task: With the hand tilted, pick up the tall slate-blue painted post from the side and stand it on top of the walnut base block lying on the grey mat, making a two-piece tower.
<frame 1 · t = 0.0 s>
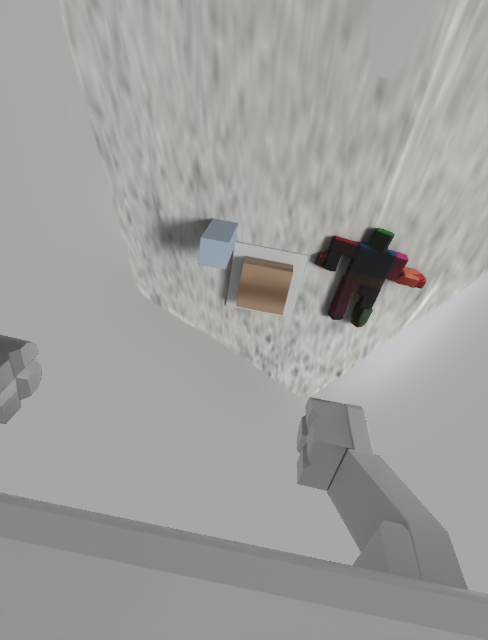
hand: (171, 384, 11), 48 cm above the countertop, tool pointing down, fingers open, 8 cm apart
base block: (264, 282, 61), resting on mat
toy: (358, 275, 60), on the countertop
post: (224, 233, 58), on the countertop
mat: (264, 281, 61), on the countertop
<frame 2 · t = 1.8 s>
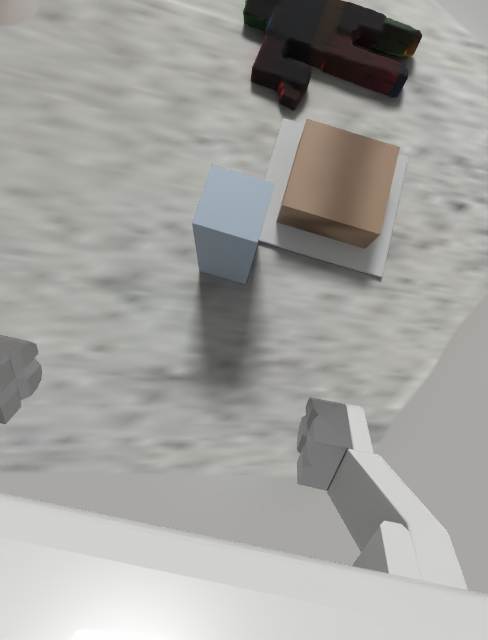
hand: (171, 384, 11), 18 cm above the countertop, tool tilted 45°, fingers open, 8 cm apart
base block: (331, 194, 32), resting on mat
toy: (323, 54, 35), on the countertop
post: (229, 256, 30), on the countertop
mat: (330, 196, 32), on the countertop
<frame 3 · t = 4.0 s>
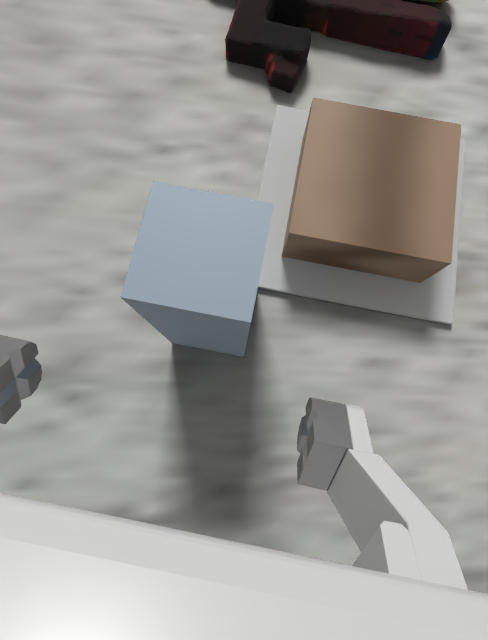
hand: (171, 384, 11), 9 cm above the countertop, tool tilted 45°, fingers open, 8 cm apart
base block: (359, 207, 21), resting on mat
toy: (324, 15, 26), on the countertop
post: (215, 315, 20), on the countertop
mat: (357, 209, 22), on the countertop
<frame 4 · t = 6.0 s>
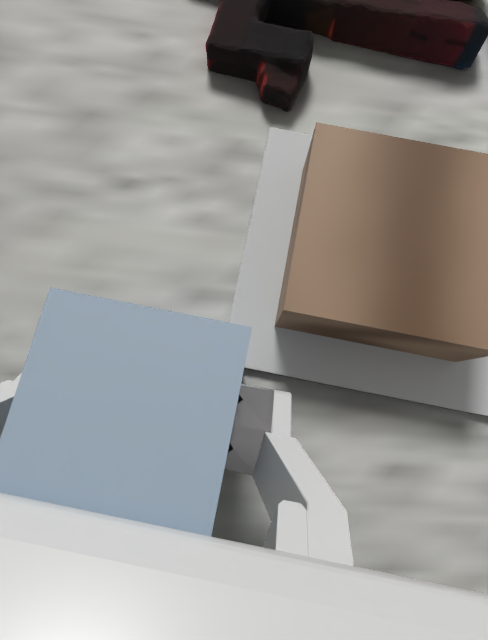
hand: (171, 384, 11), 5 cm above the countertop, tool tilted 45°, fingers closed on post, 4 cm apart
base block: (374, 259, 17), resting on mat
toy: (329, 14, 21), on the countertop
post: (187, 404, 15), on the countertop, touching gripper
mat: (372, 262, 17), on the countertop
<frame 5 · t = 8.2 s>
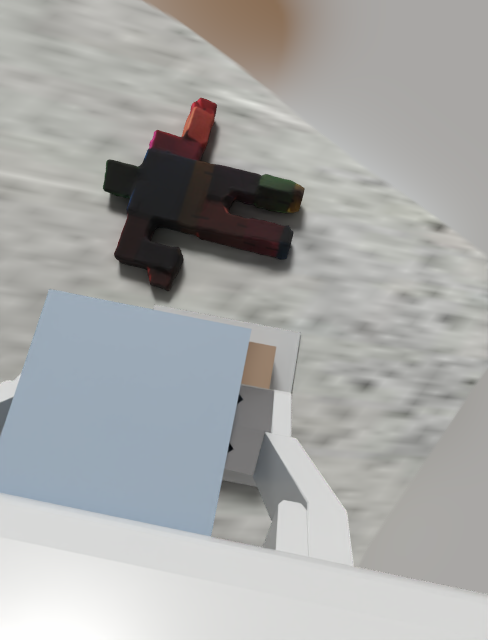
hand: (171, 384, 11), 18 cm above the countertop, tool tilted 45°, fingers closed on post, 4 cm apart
base block: (212, 392, 28), resting on mat
toy: (203, 214, 32), on the countertop
post: (187, 405, 15), point 13 cm above the countertop, touching gripper
mat: (212, 393, 28), on the countertop
when the fingers open (9 cm above the countertop, at t = 10.5 s): post drops 1 cm, resting on base block.
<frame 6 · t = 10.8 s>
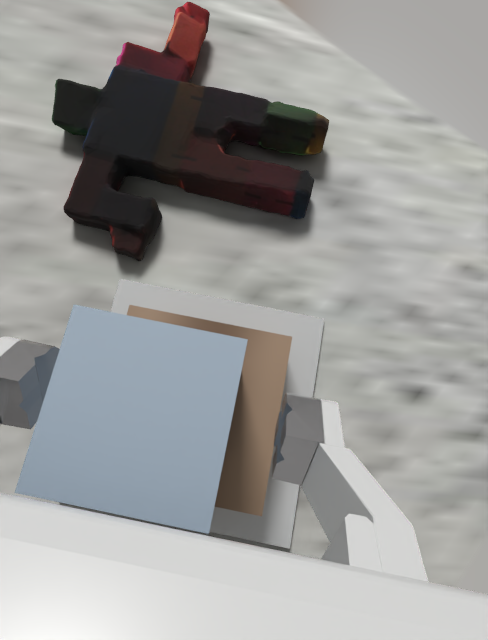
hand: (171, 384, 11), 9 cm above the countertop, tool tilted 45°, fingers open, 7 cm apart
base block: (198, 403, 19), resting on mat, touching post
toy: (190, 161, 24), on the countertop
post: (190, 405, 16), point 3 cm above the countertop, touching base block
mat: (199, 403, 20), on the countertop
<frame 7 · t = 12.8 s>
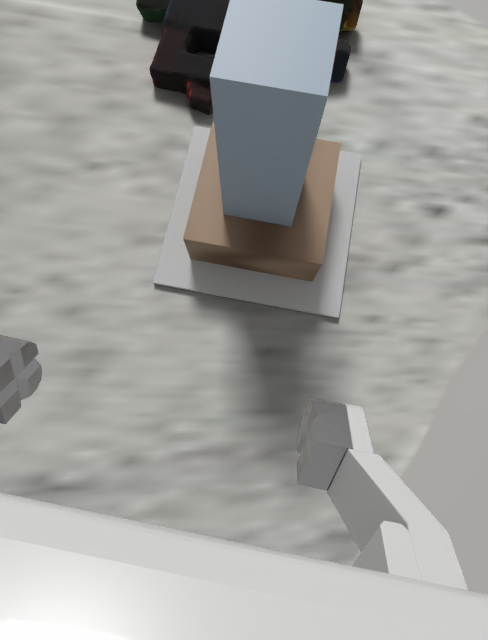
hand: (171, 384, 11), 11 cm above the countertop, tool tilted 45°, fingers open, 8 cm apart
base block: (262, 215, 24), resting on mat, touching post
toy: (246, 43, 29), on the countertop
post: (263, 190, 21), point 3 cm above the countertop, touching base block
mat: (261, 217, 24), on the countertop
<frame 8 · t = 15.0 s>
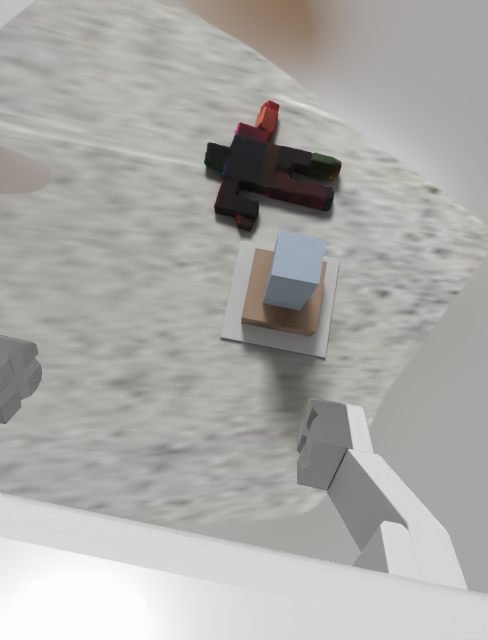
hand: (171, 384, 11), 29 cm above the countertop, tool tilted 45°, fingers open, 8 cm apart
base block: (281, 296, 42), resting on mat, touching post
toy: (270, 181, 46), on the countertop
post: (284, 289, 39), point 3 cm above the countertop, touching base block
mat: (281, 297, 42), on the countertop
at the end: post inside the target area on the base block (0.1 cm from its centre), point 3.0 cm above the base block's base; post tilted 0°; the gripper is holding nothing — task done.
